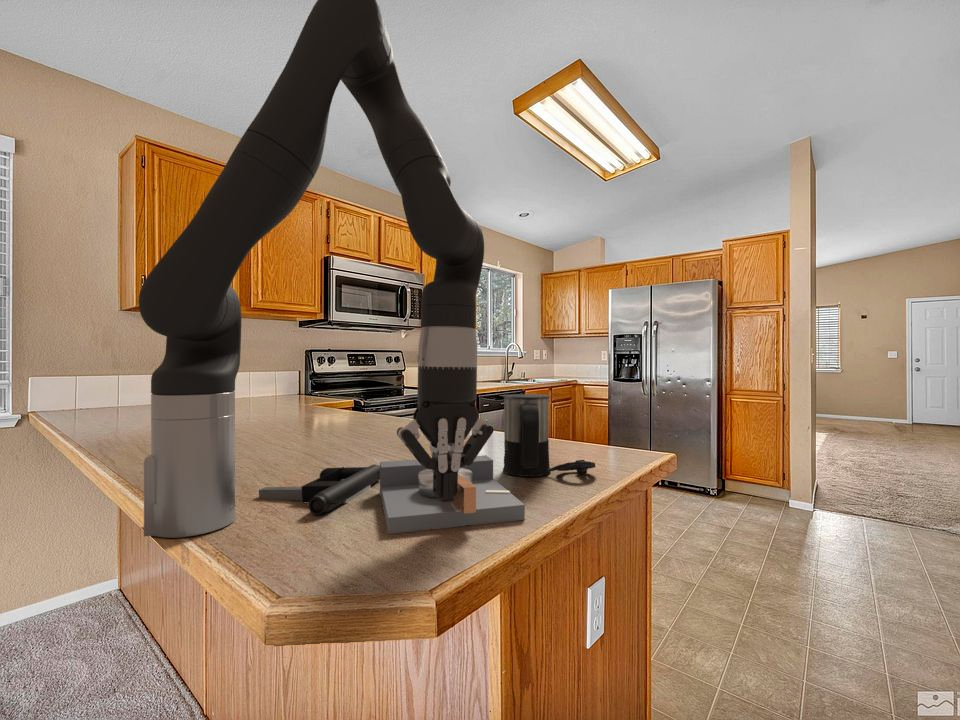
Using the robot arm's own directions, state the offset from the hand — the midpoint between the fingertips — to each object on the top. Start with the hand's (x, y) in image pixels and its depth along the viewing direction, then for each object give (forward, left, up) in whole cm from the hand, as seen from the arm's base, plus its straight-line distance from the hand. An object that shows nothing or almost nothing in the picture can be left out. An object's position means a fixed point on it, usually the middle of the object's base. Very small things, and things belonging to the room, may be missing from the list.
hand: (445, 499), depth 57 cm
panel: (+2, +9, -4) cm, 10 cm away
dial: (+2, +6, -1) cm, 6 cm away
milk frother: (+24, +22, -4) cm, 33 cm away
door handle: (-16, +21, -4) cm, 27 cm away
